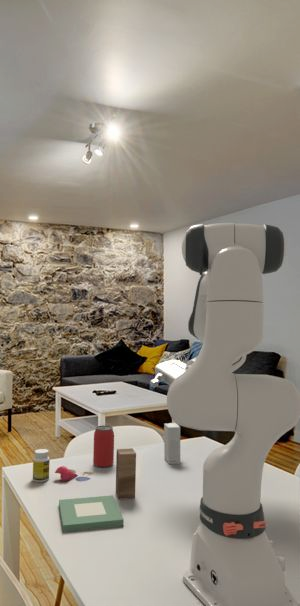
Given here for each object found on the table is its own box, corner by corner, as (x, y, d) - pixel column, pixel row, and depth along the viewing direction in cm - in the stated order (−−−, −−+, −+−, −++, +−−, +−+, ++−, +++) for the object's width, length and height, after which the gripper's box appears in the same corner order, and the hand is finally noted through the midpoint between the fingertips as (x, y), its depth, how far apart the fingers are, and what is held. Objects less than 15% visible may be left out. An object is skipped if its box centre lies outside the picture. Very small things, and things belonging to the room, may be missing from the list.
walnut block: (135, 497, 124) (136, 453, 124) (118, 499, 123) (119, 454, 123) (131, 491, 128) (132, 448, 128) (115, 492, 127) (116, 449, 127)
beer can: (91, 462, 151) (92, 425, 151) (111, 460, 153) (111, 424, 153) (95, 468, 145) (96, 430, 145) (115, 467, 147) (116, 429, 147)
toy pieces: (82, 487, 131) (82, 471, 131) (49, 480, 135) (49, 465, 135) (101, 473, 142) (102, 459, 142) (70, 468, 146) (70, 454, 146)
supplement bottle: (44, 483, 132) (45, 454, 132) (29, 481, 133) (30, 452, 133) (51, 477, 137) (52, 449, 137) (37, 475, 138) (37, 447, 138)
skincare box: (180, 463, 151) (181, 427, 151) (167, 464, 150) (168, 427, 150) (175, 457, 157) (176, 422, 157) (163, 458, 156) (163, 422, 156)
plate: (123, 525, 108) (123, 519, 108) (63, 532, 104) (63, 525, 104) (112, 501, 121) (112, 495, 121) (58, 505, 118) (59, 499, 118)
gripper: (176, 350, 139) (138, 367, 132) (224, 377, 124) (184, 398, 117) (177, 367, 142) (141, 385, 135) (224, 396, 126) (186, 418, 119)
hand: (161, 391), depth 125 cm, fingers open, 8 cm apart
